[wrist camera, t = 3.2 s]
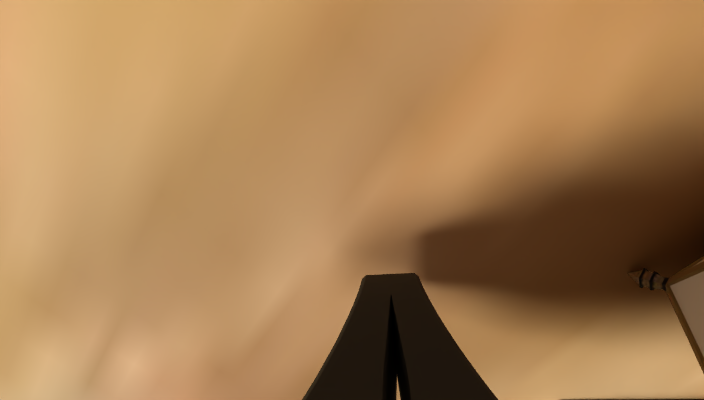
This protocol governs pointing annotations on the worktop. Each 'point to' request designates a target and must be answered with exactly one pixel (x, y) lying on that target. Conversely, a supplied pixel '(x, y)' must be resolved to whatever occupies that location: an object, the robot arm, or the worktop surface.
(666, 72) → the worktop surface
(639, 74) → the worktop surface
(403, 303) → the robot arm
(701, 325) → the game die
